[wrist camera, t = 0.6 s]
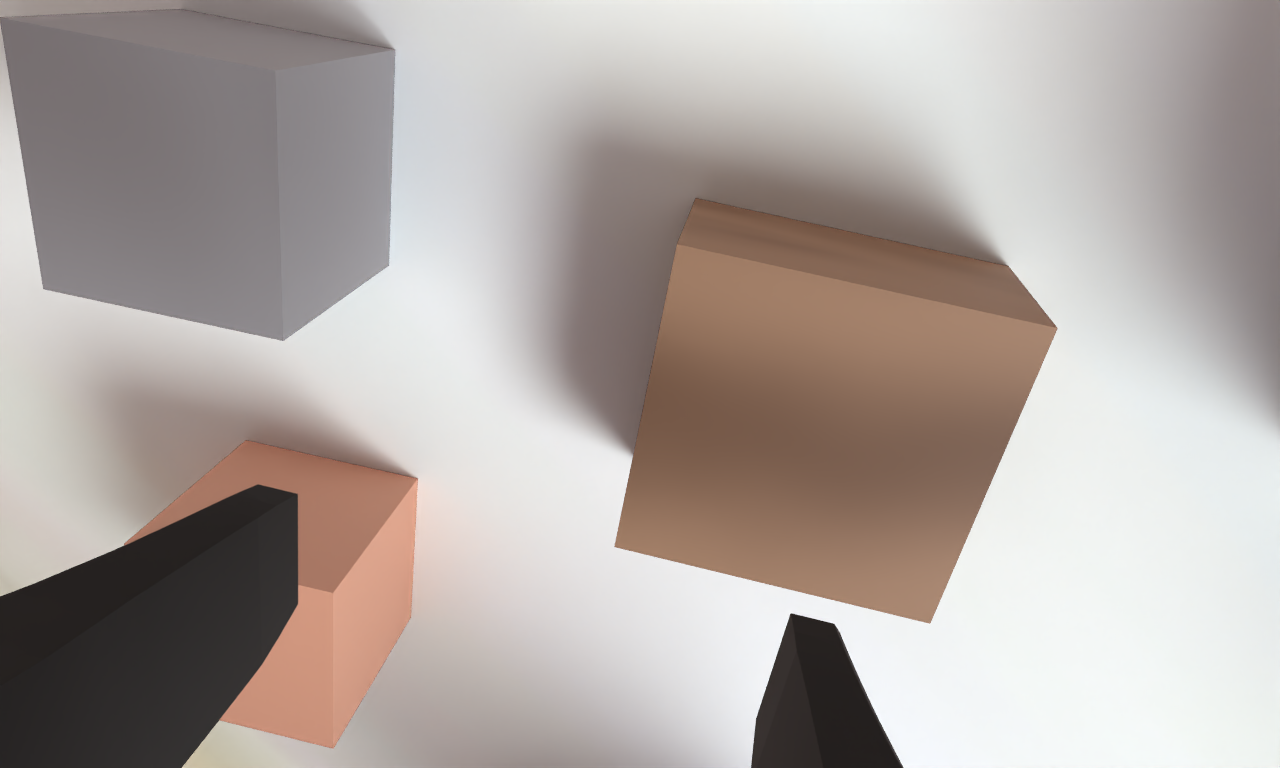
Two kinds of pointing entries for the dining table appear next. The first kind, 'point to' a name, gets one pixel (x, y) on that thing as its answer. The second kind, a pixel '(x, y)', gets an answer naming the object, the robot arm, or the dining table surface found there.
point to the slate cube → (203, 163)
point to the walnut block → (827, 408)
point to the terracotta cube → (322, 585)
